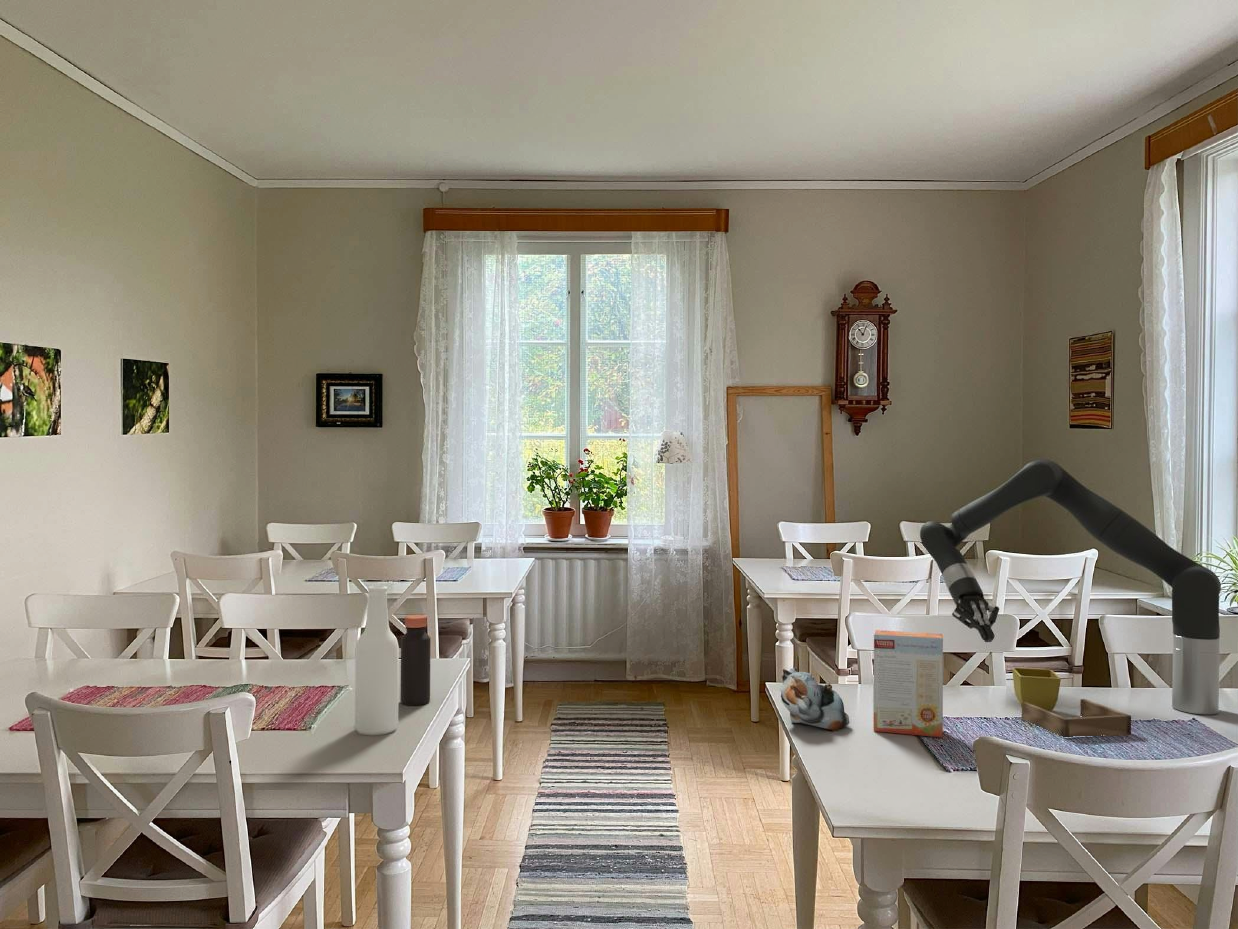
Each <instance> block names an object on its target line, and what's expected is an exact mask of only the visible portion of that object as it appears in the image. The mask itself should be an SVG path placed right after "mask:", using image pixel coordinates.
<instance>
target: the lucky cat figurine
mask: <svg viewBox="0 0 1238 929" xmlns="http://www.w3.org/2000/svg"><path fill="white" fill-rule="evenodd" d="M781 678H782V685H781V688H780V693H781V694H780V698H781V702H782V704H783V706H784V707H785V708H786V709H787V710H788V712H789V718H790V722H791V724H805V725H808V726H813V727H818V728H820V729H826V730H828V731H832V732H835V731H839V730H843V729H844V728H845V727H846V726H849V724H850V723H851V721H850V717H849V714H847V713H846V712H845V706H844V702H843V699H842V697H841V696H840V694H838V692H837V691H835V690H833V686H832V684H831V683H830V682H826V683H825V684H824V685H823V684H819V683H818V681H817V680H816V678H815V676H814V675H813V674H812V673H811V672H806V671H798V669H797V668H796V667H791V668H790V669H789V670H787V669H784V668H783V669H782V676H781Z"/></svg>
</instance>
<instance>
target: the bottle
mask: <svg viewBox="0 0 1238 929" xmlns="http://www.w3.org/2000/svg"><path fill="white" fill-rule="evenodd" d="M427 619H428V618H427V616H426V615H422V614H411V615H407V616H405V618H404V626H405V627H404V628H405V629H406V632H405V633H404V635H403V636H401V639H400V691H399V692H400V698H399V699H400V703H401V704H402V705H404V704H405V705H404V706H410V705H415V706H423V705H427V704H428V703H430V701H431V643H432V642H431V636H430V635H429V634H428V633H427V632H426V629H427ZM426 703H427V704H426ZM422 704H423V705H422Z"/></svg>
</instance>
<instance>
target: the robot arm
mask: <svg viewBox="0 0 1238 929" xmlns="http://www.w3.org/2000/svg"><path fill="white" fill-rule="evenodd" d="M1041 497H1045V498H1048V499H1050V500H1052V502H1055V503H1056V504H1058V505H1060V506H1061V507H1063V508H1064V509H1065V510H1067V511H1068V512H1069V513H1070V514H1071V515H1072V516H1073V517H1074V519H1076V520H1077V522H1078V523H1079V524H1080V525H1081V526H1082V527H1083V529H1084V530H1086V532H1087V533H1088V534H1090V536H1092V537H1093V538H1094V539H1095V540H1097V541H1098V542H1099V543H1101V544H1102V545H1104V546H1105V547H1107V548H1108V549H1109V550H1111V551H1113V552H1114V553H1116V554H1118V555H1120V556H1121V557H1123V558H1125V559H1127V560H1129V561H1131V562H1133V563H1135V564H1136V565H1139V566H1141V567H1143V568H1145V569H1147V570H1148V571H1150V572H1152V573H1153V574H1154V575H1156V576H1157V577H1159V578H1160V579H1161V580H1163V582H1165V583H1166V584H1167V585H1168V586H1169V587H1171V624H1172V692H1171V696H1172V697H1171V706H1172V707H1171V708H1173V709H1175V710H1177V711H1180V712H1185V713H1190V714H1194V715H1195V714H1197V715H1216V714H1219V708H1220V706H1219V705H1220V704H1219V701H1220V700H1219V698H1220V630H1221V629H1220V594H1221V590H1222V584H1221V580H1220V579H1219V577H1218V575H1217V574H1216V573H1215V572H1214V571H1213V570H1211V569H1209V568H1207V567H1205V566H1203V564H1200V563H1199V562H1196V561H1194V560H1193V559H1191V558H1189V557H1187V556H1186V555H1184V554H1182V553H1181V552H1180V551H1177V550H1176V549H1174V548H1173V547H1171V546H1170V545H1169V544H1167V543H1166V542H1165V541H1164V540H1163V539H1162V538H1160V537H1159V536H1158V535H1157V534H1156V533H1154V532H1153V531H1151V530H1150V529H1149V528H1147V526H1145V525H1144V524H1142V523H1141V522H1140V521H1139V520H1137V519H1136V518H1134V517H1133V516H1131V515H1130V514H1128V513H1127V512H1125V511H1124V510H1122V509H1121V508H1119V507H1118V506H1117V505H1115V504H1113V503H1112V502H1110V501H1108V499H1105V498H1103V497H1102V496H1100V495H1099V494H1097V493H1095V492H1094V491H1092V490H1090V489H1089V488H1087V487H1086V486H1084V485H1083V484H1082V483H1081V482H1080V481H1078V480H1077V479H1076V478H1075V477H1073V475H1071V474H1070V473H1069V472H1068V471H1067V470H1065V469H1064V468H1063V467H1062V466H1061V465H1059V464H1058V463H1057V462H1055V461H1053V460H1050V459H1045V458H1043V459H1036V460H1032V461H1030V462H1028V463H1027V464H1026V465H1024V467H1022V468H1021V469H1020V470H1019V471H1017V473H1015V474H1014V475H1013V476H1011V477H1010V478H1009V479H1008V480H1007V481H1005V482H1004V483H1003V484H1001V485H1000V486H998V487H997V488H995V489H993V490H992V491H990V492H988V493H986V494H985V495H983V496H981V497H979V498H977V499H975V500H973V501H971V502H969V503H968V504H966V505H964V506H963V507H961V508H959V509H957V510H956V511H954V512H953V513H952V514H951V516H950V520H951V522H950V523H951V524H949V525H947V526H946V525H945V524H942V523H940V522H939V521H935V520H930V521H927V522H925V523H924V524H922V526H921V528H920V532H919V537H920V541H921V543H922V546H923V547H924V548H925V550H926V551H927V552H928V554H929V555H930V556H931V558H932V559H933V560H934V561H935V563H936V565H937V567H938V569H939V571H940V573H941V576H942V578H943V582H944V584H945V586H946V588H947V590H948V592H949V594H950V596H951V599H952V601H953V603H954V604H955V605H956V606H955V608H954V610H953V611H952V612H951V616H952V617H953V618H955V619H956V620H957V621H958V622H960V623H962V624H963V625H965V626H967V627H968V628H969V629H975V630H977V631H978V634H979V635H980V637H981V639H982V640H983V641H984V643H992V642H993V640H994V639H995V634H994V631H993V629H992V627H993V625H994V624H995V623H996V621H997V618H998V614H999V611H1000V607H999V606H998V605H995V606H992V605H990V604H989V602H988V601H987V600H986V599H985V597H984V592H983V589H982V588H981V586H980V583H979V582H978V580H977V578H976V577H975V574H974V572H973V571H972V569H971V568H970V567H969V565H968V563H967V561H966V558H965V557H964V555H963V554H962V552H961V551H960V550H959V549H958V548H957V547H958V546H960V544H962V542H964V541H965V540H966V539H967V538H968V537H969V536H970V535H971V534H973V533H975V532H976V531H978V530H981V529H982V528H983V527H985V526H986V525H989V524H990V523H992V522H993V521H995V520H996V519H998V518H999V517H1000V516H1001V515H1003V514H1005V513H1006V512H1007V511H1010V510H1011V509H1012V508H1014V507H1017V506H1018V505H1021V504H1022V503H1023V504H1024V503H1026V502H1028V501H1032V500H1034V499H1036V498H1041Z"/></svg>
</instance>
